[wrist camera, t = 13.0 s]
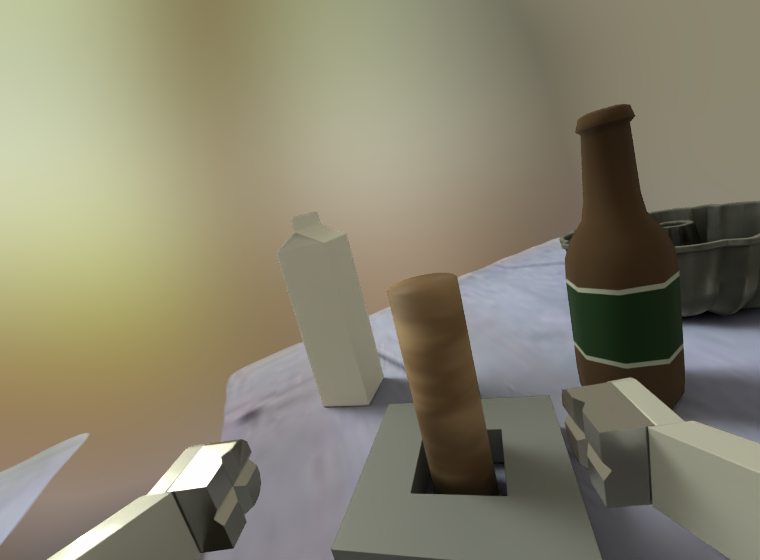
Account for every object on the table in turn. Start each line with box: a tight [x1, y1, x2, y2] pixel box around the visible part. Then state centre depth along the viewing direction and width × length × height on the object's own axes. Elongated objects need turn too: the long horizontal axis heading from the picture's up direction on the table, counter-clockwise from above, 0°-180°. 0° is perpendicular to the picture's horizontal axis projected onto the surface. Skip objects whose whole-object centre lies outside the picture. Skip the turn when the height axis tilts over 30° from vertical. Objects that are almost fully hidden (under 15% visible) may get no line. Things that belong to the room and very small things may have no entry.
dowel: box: [387, 273, 499, 496], centre depth 23 cm, size 4×4×16 cm
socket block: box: [331, 395, 602, 560], centre depth 25 cm, size 14×14×3 cm
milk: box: [276, 212, 384, 407], centre depth 41 cm, size 6×6×22 cm
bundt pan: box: [560, 201, 760, 317], centre depth 47 cm, size 26×26×10 cm
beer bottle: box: [565, 104, 685, 409], centre depth 29 cm, size 8×8×24 cm
